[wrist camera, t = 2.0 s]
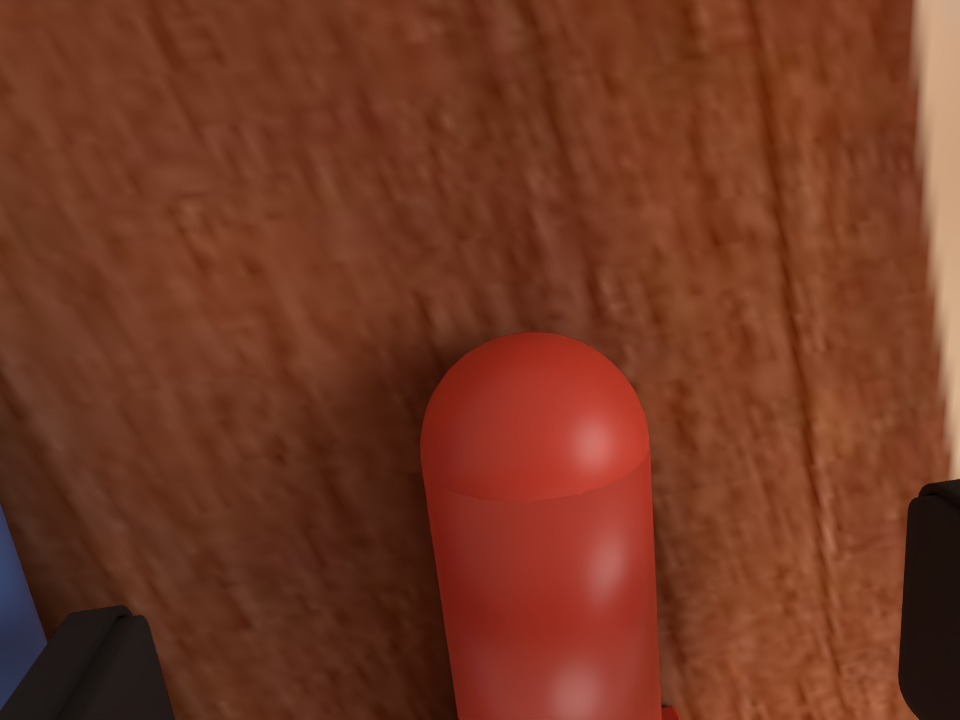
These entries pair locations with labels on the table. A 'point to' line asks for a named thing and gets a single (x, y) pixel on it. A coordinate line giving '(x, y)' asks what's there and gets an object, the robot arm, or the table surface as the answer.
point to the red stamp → (544, 533)
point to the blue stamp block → (15, 619)
